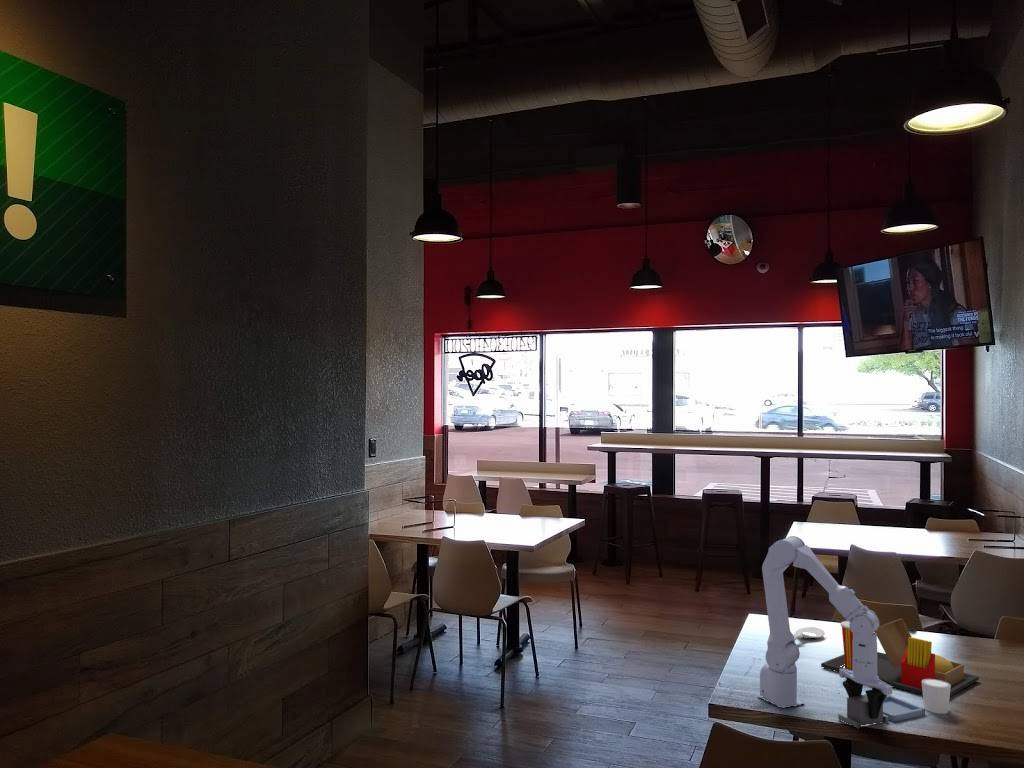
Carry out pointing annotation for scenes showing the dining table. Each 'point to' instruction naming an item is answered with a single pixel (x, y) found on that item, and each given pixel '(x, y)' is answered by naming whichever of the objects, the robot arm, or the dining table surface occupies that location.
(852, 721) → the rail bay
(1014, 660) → the dining table surface
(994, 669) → the dining table surface
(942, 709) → the white cup
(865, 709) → the grey bar
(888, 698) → the tray
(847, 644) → the fast food meal
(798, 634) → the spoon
